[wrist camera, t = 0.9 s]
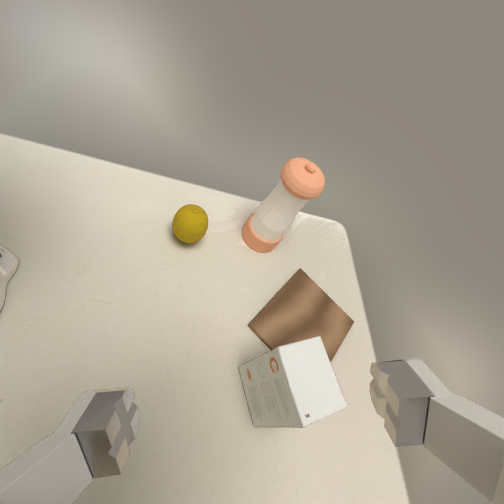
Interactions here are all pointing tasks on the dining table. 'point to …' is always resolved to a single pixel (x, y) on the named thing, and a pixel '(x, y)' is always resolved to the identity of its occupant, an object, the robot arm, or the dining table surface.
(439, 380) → the robot arm
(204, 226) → the lemon
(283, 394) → the small box
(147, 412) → the dining table surface
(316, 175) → the pepper shaker
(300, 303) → the walnut board
